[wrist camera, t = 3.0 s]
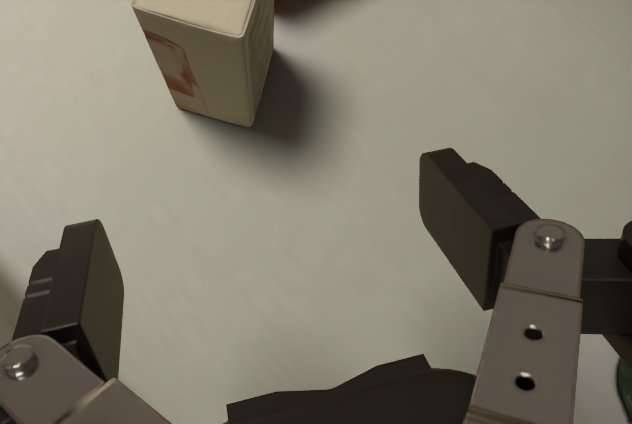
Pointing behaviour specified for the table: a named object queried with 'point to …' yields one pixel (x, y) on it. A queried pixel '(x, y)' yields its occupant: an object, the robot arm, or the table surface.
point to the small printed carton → (211, 53)
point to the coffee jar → (625, 384)
